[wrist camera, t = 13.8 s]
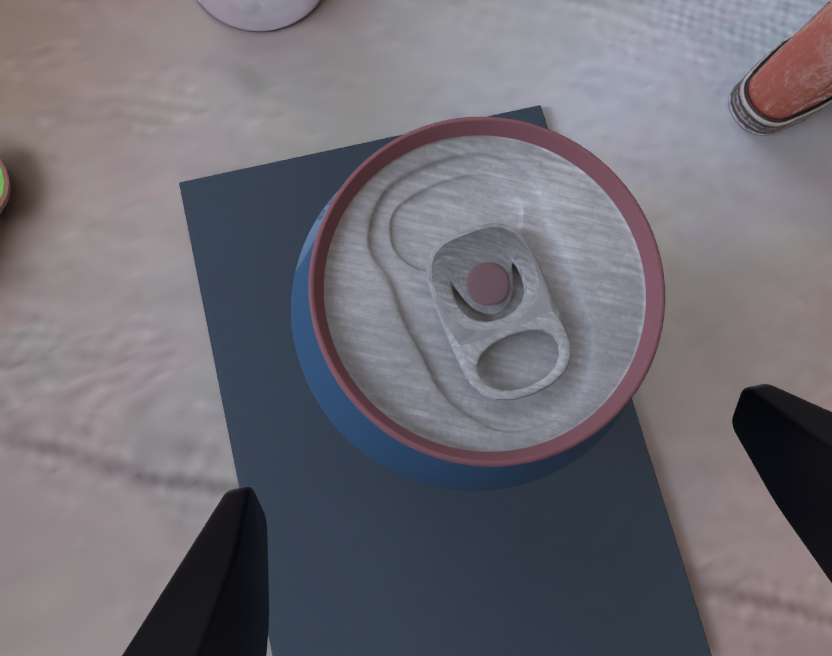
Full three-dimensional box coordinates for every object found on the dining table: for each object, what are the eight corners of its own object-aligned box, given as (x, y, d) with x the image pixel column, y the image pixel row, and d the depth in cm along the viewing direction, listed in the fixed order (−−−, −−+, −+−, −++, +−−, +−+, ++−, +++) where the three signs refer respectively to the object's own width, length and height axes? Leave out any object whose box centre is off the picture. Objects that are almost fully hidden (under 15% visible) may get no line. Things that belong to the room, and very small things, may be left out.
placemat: (706, 654, 19) (713, 659, 19) (300, 779, 18) (298, 787, 18) (538, 109, 23) (540, 104, 22) (182, 186, 21) (178, 182, 21)
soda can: (316, 307, 20) (209, 160, 9) (482, 245, 21) (596, 29, 9) (380, 480, 19) (361, 586, 8) (553, 410, 20) (779, 406, 8)
